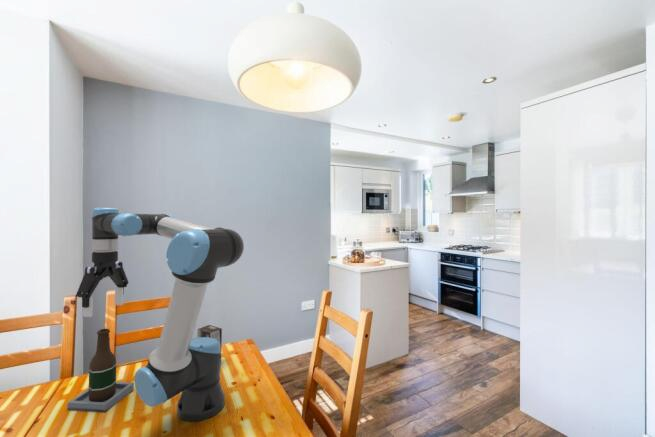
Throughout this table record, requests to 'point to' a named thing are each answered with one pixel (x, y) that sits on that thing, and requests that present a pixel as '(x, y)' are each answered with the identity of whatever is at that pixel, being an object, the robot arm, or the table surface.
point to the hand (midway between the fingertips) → (104, 310)
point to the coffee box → (211, 334)
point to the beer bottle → (102, 370)
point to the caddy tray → (86, 405)
